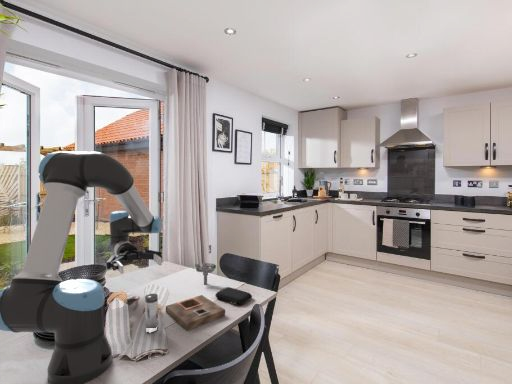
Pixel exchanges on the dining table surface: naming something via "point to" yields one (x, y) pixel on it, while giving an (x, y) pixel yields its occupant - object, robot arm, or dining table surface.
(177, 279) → the dining table surface
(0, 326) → the robot arm
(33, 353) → the dining table surface
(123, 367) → the dining table surface
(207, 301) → the socket board
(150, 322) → the metal cylinder
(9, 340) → the dining table surface
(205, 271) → the mechanical component
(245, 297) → the carrying case or bag
